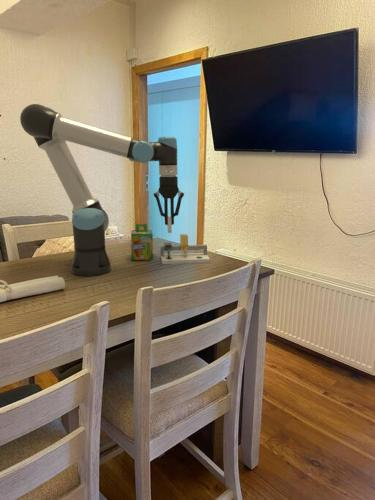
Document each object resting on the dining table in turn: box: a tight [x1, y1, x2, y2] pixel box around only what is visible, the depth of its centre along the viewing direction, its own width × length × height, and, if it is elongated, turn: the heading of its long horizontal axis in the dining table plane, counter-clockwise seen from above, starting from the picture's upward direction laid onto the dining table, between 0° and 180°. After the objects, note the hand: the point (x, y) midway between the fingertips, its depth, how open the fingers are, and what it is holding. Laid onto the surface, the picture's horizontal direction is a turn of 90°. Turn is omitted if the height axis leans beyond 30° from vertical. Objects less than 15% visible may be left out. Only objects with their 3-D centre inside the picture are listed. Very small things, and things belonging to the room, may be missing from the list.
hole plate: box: [160, 244, 211, 265], centre depth 163 cm, size 20×10×6 cm, turn 97°
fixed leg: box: [163, 242, 173, 259], centre depth 163 cm, size 3×8×5 cm, turn 7°
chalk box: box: [130, 223, 154, 261], centre depth 166 cm, size 9×9×15 cm
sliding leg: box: [179, 233, 189, 257], centre depth 163 cm, size 3×8×8 cm, turn 7°
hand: (169, 232), depth 163 cm, fingers closed
